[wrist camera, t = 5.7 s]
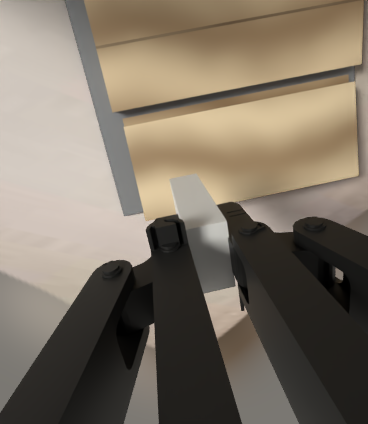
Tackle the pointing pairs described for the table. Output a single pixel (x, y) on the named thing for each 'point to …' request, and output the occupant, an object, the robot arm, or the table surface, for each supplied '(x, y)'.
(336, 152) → the board
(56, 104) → the table surface
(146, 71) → the floor board
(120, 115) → the underlay mat
